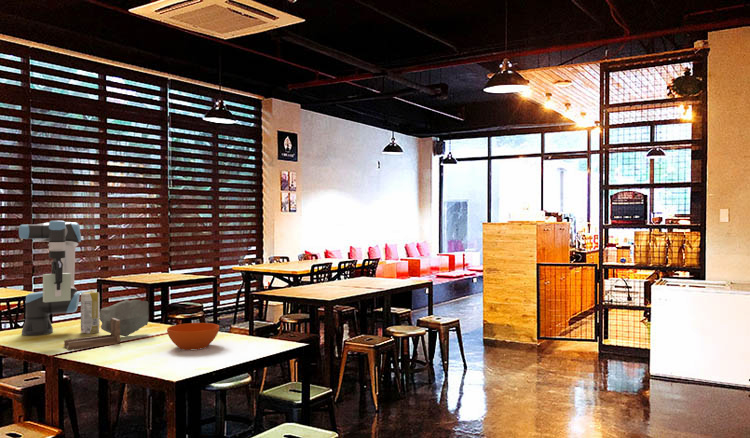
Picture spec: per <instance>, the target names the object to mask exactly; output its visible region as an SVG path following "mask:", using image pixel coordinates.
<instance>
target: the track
mask: <svg viewBox="0 0 750 438" xmlns="http://www.w3.org/2000/svg"><path fill="white" fill-rule="evenodd" d="M63 341H64V343H63V347H64V348H65V349H67V350H68V351H72V349H74V350H80V349H88V347H89V348H93V347H94V348H95V347H102V346H110V345H118V344H121V335H120V320H118V319H116V318H111V333H110V334H103V335H96V336H87V337H79V338H72V339H71V338H70V339H64V340H63Z"/></svg>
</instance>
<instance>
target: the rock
mask: <svg viewBox="0 0 750 438" xmlns="http://www.w3.org/2000/svg"><path fill="white" fill-rule="evenodd" d="M149 303H150V302H148V301H147V300H141V299H131V300H129V299H125V300H122V301H119V302H117V303H115V304H112V305H110V306H104V307H103V308H100V317H99V322H101V325H100V328H101V330H103V331H105V333H109V334H111V318H116V319H118V320H120V337H128V336H129V335H131V334H133V333H135V332H138V331H139V330H140V329H141V328H144V327H145V326H147V325H148V324H149V317H150V316H149V313H150V312H149Z"/></svg>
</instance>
